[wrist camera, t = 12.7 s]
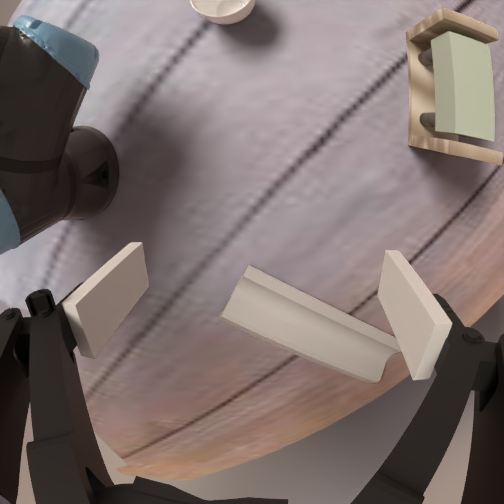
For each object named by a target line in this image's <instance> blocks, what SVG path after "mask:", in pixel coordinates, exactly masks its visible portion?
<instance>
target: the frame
mask: <svg viewBox="0 0 504 504" xmlns="http://www.w3.org/2000/svg"><path fill="white" fill-rule="evenodd" d="M448 31H450V32H453V33H456V34H459V35H462V36H465V37H468V38H471V39H474V40H476V41H479V42H482V43H484V44H487V43H490V42H494V41H497V40H499V39H498V33H497V29H495V28H493V27H491V26H489V25H487V24H484V23H482V22H480V21H478V20H475V19H473V18H470V17H468V16H465V15H463V14H460V13H457V12H455V11H452V10H449V9H446V8H443V7H442V8H440V9H439V10H437V11H436V12H435V13H433V14H432V15H430V16H429V17H427V18H426V19H424V20H423V21H421V22H420V23H419V24H417V25H416V26H414V27H413V28H412V29H410V30H409V31H407V32H406V42H407V55H408V73H409V137H408V145H409V146H414V147H419V148H424V149H429V150H433V151H438V152H442V153H446V154H451V155H456V156H461V157H466V158H471V159H476V160H480V161H485V162H489V163H493V164H497V165H501V166H502V159H503V153H502V152H498V151H494V150H490V149H487V148H483V147H479V146H474V145H470V144H466V143H461V142H458V138H459V135H455V134H449V133H444V132H438V131H435V84H434V69H433V58H432V48H431V40H432V39H434V38H436V37H438V36H440V35H442V34H444V33H446V32H448Z"/></svg>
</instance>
